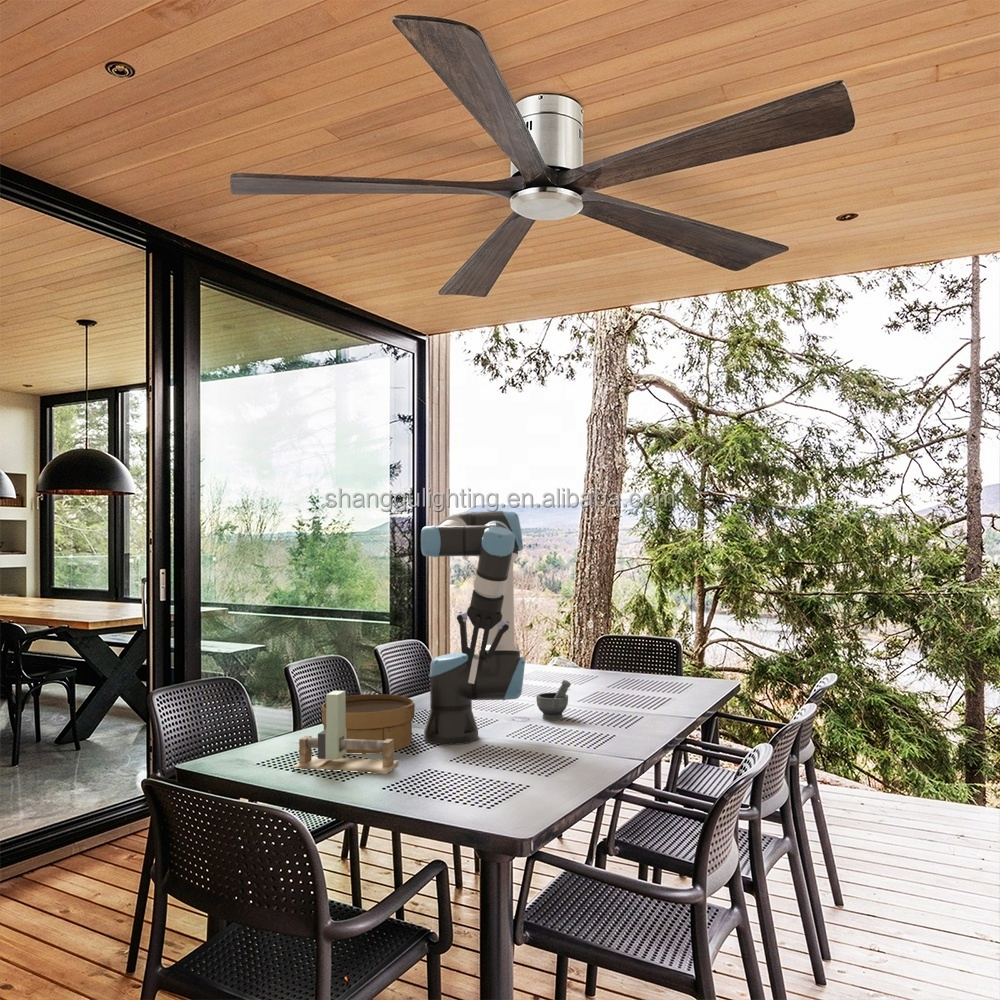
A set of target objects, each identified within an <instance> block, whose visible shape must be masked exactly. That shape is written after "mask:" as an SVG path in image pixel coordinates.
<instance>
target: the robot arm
mask: <svg viewBox="0 0 1000 1000" xmlns="http://www.w3.org/2000/svg"><path fill="white" fill-rule="evenodd" d="M522 535H523V534H522V527H521V522H520V518H519V515H518V514H517V513H516V512H514V511H504V510H497V511H495V510H494V511H492V510H491V511H463V512H459V513H455V514H451V515H449V516H446V517H444V518H443V519H441V520H439V522H438V524H436V525H431V526H430V525H429V526H424V527H422V529H421V532H420V550H421V554H422V556H424V557H433V558H439V557H441V558H443V557H478V561H477V562H478V564H477V569H476V572H475V577H474V583H473V590H472V594H471V599H470V605H469V606H468V608H467V610H465V611H464V612H462V611H459V612H458V613H457V616H456V621H457V622H458V624H459V630H460V631H459V633H460V645H461V646H460V647H461V651H460V652H455V653H454V652H453V653H447V654H443V655H439V656H436V657H434V658H433V659H432V660H431V661H430V669H429V674H428V675H429V678H430V679H429V682H430V683H429V685H430V687H429V689H430V690H429V691H430V693H429V696H430V698H429V699H430V700H429V701H430V702H429V704H430V705H429V706H430V709H429V715H428V716H427V720H426V724H425V728H424V732H423V735H424V737H423V740H424V741H425V742H427V743H430V744H435V745H436V744H437V745H449V746H450V745H463V744H467V743H473V742H474V741H476V740H478V739H479V728H478V725H477V722H476V718H475V716H474V713H473V707H472V706H473V705H472V703H473V702H472V701H500V700H501V701H506V700H507V701H508V700H517V699H519V698H520V697H521V695H522V691H523V685H524V677H525V666H526V658H525V657H524V656H521V650H520V649H519V648H518V647H517V646H516V644H515V601H514V600H515V597H514V596H515V594H514V593H515V592H514V590H515V588H514V587H515V586H514V562H515V561H516V560H517V559H518V557H519V552H521V551H523V550H524V543H523V536H522ZM468 619H469V620H470V622H471V624H472V626H473V629H472V635H471V640H470V644H468V643H469V642H468V633H467V631H468V630H467V620H468ZM480 629H481V630H483V635H482V640H481V644H480V649H479V651H478V654H477V653H475V651H476V646H477V641H478V637H479V636H478V635H479V630H480ZM468 645H469V646H468Z"/></svg>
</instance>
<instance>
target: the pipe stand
mask: <svg viewBox="0 0 1000 1000" xmlns="http://www.w3.org/2000/svg"><path fill="white" fill-rule="evenodd" d="M298 740H299V742H298V743H299V744H298V745H299V747H298V750H299V752H298V753H299V754H298V757H299V758H298V763H297V764H295V765H293V766H292V769H293V768H304V769H326V770H343V771H359V772H371V773H386V774H385V775H388V774H389V773H390V772H391V771H392V770H393V769H395V768H396V767H397V766H396V765H399V763H400V760H398V759H397V760H396V759H394V757H395V756H394V754H395V753H394V752H395V751H394V739H386V740H359V739H339V749H353V750H377V751H382V753H381V754H382V759H379V758H378V759H373V758H356V757H355V758H351V757H340V758H339V759H337V760H336V759H318V756H312V748H314V749H318V737H312V735H304V736H303V737H301V738H299V739H298ZM391 769H392V770H391ZM390 770H391V771H390ZM389 771H390V772H389ZM388 772H389V773H388ZM371 773H370V774H371ZM387 773H388V774H387Z"/></svg>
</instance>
